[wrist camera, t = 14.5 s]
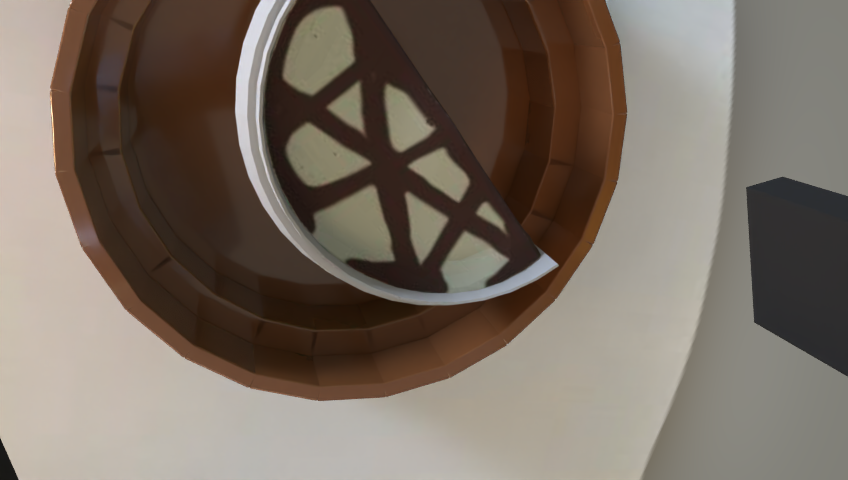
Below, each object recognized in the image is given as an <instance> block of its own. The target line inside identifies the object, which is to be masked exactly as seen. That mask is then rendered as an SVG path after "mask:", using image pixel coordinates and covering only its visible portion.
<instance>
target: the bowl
mask: <svg viewBox="0 0 848 480" xmlns="http://www.w3.org/2000/svg"><path fill="white" fill-rule="evenodd" d="M260 1H261V0H72V1H71V3H70V7H69V8H68V11H67V16H66V20H65V24H64V29H63V33H62V38H61V42H60V46H59V51H58V55H57V60H56V64H55V68H54V73H53V77H52V82H51V86H50V88H51V90H50V102H51V118H52V134H53V150H54V166H55V171H56V173H55V174H56V177H57V180H58V183H59V186H60V188H61V191H62V194H63V197H64V200H65V202H66V205H67V208H68V211H69V214H70V216H71V219H72V222H73V225H74V228H75V230H76V233H77V236H78V239H79V242H80V244H81V247H83V250H84V252H85V253H86V255H87V256H88V257H89V259H90V260H91V262H92V263H93V264H94V266H95V267H96V269H97V270H98V271H99V273H100V274H101V276H102V277H103V279H104V280H105V281H106V283H107V284H108V286H109V287H110V288H111V290H112V291H113V293H114V294H115V295H116V297H117V298H118V300H119V301H120V303H121V304H122V305H123V307H124V308H125V310H127V311H128V312H129V313H130V314H131V315H132V316H133V317H135V318H136V319H137V320H138V321H140V322H141V323H142V324H143V325H144V326H146V327H147V328H148V329H149V330H150V331H152V332H153V333H154V334H155V335H156V336H158V337H159V338H160V339H161V340H163V341H164V342H165V343H166V344H167V345H169V346H170V347H171V348H172V349H173V350H175V351H176V352H177V353H178V354H180V355H181V356H182V357H185V359H187V360H189V361H192V362H194V363H196V364H198V365H200V366H202V367H205V368H207V369H209V370H211V371H213V372H215V373H218V374H220V375H222V376H224V377H226V378H228V379H231V380H233V381H235V382H237V383H239V384H241V385H244V386H246V387H250V388H251V389H257V390H262V391H267V392H273V393H278V394H284V395H289V396H294V397H300V398H305V399H310V400H318V401H327V400H345V399H362V398H380V397H388V396H391V395H394V394H398V393H401V392H404V391H408V390H411V389H415V388H418V387H421V386H425V385H428V384H431V383H435V382H438V381H441V380H445V379H448V378H449V377H452V376H454V375H456V374H458V373H459V372H461V371H463V370H465V369H466V368H468V367H470V366H472V365H473V364H475V363H477V362H479V361H480V360H482V359H484V358H486V357H487V356H489V355H491V354H493V353H494V352H496V351H498V350H499V349H501V348H503V347H505V346H506V345H507V344H509V343H510V342H511V341H512V340H513V339H514V338H515V337H516V336H517V335H518V334H519V333H520V332H522V331H523V330H524V329H525V328H526V327H527V326H528V325H529V324H530V323H531V322H532V321H533V320H534V319H536V318H537V317H538V316H539V315H540V314H541V313H542V312H543V311H544V310H545V309H546V308H547V307H549V306H550V305H551V304H552V303H553V302H554V301H555V299H556V298H557V297H558V296H559V294H560V293H561V291H562V290H563V288H564V287H565V285H566V284H567V282H568V281H569V280H570V278H571V277H572V275H573V274H574V272H575V271H576V269H577V268H578V266H579V265H580V263H581V262H582V260H583V259H584V258H585V256H586V255H587V253H588V252H589V250H590V249H591V247H592V244H593V243H594V241H595V239H596V236H597V234H598V231H599V229H600V226H601V223H602V221H603V218H604V216H605V213H606V210H607V208H608V205H609V203H610V200H611V198H612V195H613V192H614V190H615V187H616V185H617V181H618V176H619V169H620V162H621V154H622V147H623V140H624V133H625V125H626V118H627V105H626V95H625V85H624V76H623V66H622V56H621V46H620V43H619V42H620V41H619V38H618V35H617V32H616V30H615V27H614V24H613V21H612V19H611V16H610V13H609V10H608V8H607V5H606V2H605V0H370V1H371V2H372V4H373V5H374V7H375V8H376V10H377V11H378V13H379V14H380V16H381V17H382V19H383V20H384V21H385V23H386V24H387V26H388V27H389V29H390V30H391V32H392V33H393V35H394V36H395V38H396V39H397V41H398V42H399V44H400V45H401V47H402V48H403V50H404V51H405V53H406V54H407V56H408V57H409V59H410V60H411V62H412V63H413V65H414V66H415V68H416V69H417V71H418V72H419V74H420V75H421V76H422V78H423V79H424V81H425V82H426V84H427V85H428V87H429V88H430V90H431V91H432V92H433V94H434V95H435V97H436V98H437V99H438V101H439V102H440V104H441V105H442V107H443V108H444V109H445V111H446V112H447V114H448V115H449V117H450V118H451V119H452V121H453V123H454V124H455V126H456V127H457V129H458V130H459V132H460V134H461V135H462V137H463V138H464V140H465V141H466V143H467V144H468V146H469V148H470V149H471V151H472V152H473V154H474V155H475V157H476V159H477V160H478V162H479V163H480V165H481V166H482V168H483V169H484V171H485V172H486V174H487V175H488V177H489V178H490V180H491V181H492V183H493V184H494V186H495V187H496V189H497V190H498V192H499V193H500V195H501V196H502V198H503V199H504V201H505V202H506V204H507V205H508V207H509V208H510V210H511V211H512V213H513V215H514V216H515V218H516V219H517V220H518V222H519V223H520V225H521V226H522V227H523V229H524V230H525V231H526V232H527V233H528V234H529V235H530V237H531V239H532V241H533V243H534V244H535V245H536V246H537V247H539V248H540V249H541V250H542V251H543V252H544V253H545V254H547V255H548V256H549V257H550V258H551V259H552V260H554V261H555V262H556V263H557V264H558V265H559V266H558V267H556V268H555V269H553V270H552V271H550V272H549V273H547V274H546V275H544V276H542V277H541V278H539V279H538V280H536V281H534V282H532V283H530V284H528V285H525V286H523V287H521V288H519V289H517V290H515V291H513V292H510V293H507V294H503V295H500V296H497V297H494V298H490V299H487V300H483V301H477V302H470V303H463V304H455V305H416V304H410V303H403V302H397V301H391V300H388V299H385V298H382V297H379V296H376V295H373V294H370V293H367V292H364V291H362V290H360V289H358V288H356V287H354V286H352V285H350V284H349V283H347V282H345V281H343V280H341V279H339V278H337V277H335V276H334V275H332V274H330V273H329V272H327V271H326V270H324V269H323V268H321V267H320V266H319V265H317V264H316V263H315V262H313V261H312V260H311V259H309V258H308V257H306V256H305V255H304V254H302V253H301V252H300V251H299V250H298V249H297V248H296V247H295V245H294V244H293V243H292V242H291V241H290V240H289V239H288V238H287V237H286V236H285V235H284V234H283V233H282V232H281V231H280V230H279V228H278V227H277V225H276V224H275V223H274V221H273V220H272V218H271V217H270V215H269V214H268V213H267V211H266V210H265V208H264V207H263V205H262V203H261V201H260V199H259V197H258V195H257V193H256V191H255V189H254V187H253V185H252V183H251V180H250V178H249V176H248V173H247V169H246V166H245V163H244V159H243V156H242V152H241V149H240V146H239V138H238V130H237V122H236V114H235V102H236V77H237V72H238V67H239V62H240V57H241V51H242V46H243V42H244V39H245V37H246V34H247V31H248V29H249V26H250V23H251V21H252V18H253V15H254V13H255V10H256V8H257V6H258V5H259V3H260Z"/></svg>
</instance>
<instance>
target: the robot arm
mask: <svg viewBox="0 0 848 480" xmlns="http://www.w3.org/2000/svg"><path fill="white" fill-rule="evenodd" d="M746 189H747V208H748V224H749V240H750V258H751V275H752V291H753V308H754V322H755V323H756V324H758V325H760V326H762V327H763V328H765V329H767V330H769V331H770V332H772V333H774V334H775V335H777V336H779V337H780V338H782V339H784V340H786V341H788V342H789V343H791V344H793V345H794V346H796V347H798V348H799V349H801V350H803V351H805V352H806V353H808V354H810V355H812V356H813V357H815V358H817V359H818V360H820V361H822V362H824V363H825V364H827V365H829V366H831V367H832V368H834V369H836V370H838V371H839V372H841V373H843V374H844V375H846V376H848V196H845V195H842V194H839V193H835V192H832V191H829V190H825V189H822V188H818V187H815V186H812V185H808V184H805V183H802V182H798V181H795V180H792V179H788V178H785V177H780V178H777V179H773V180H770V181H766V182H763V183H760V184H756V185H753V186H749V187H747V188H746ZM0 480H19V479H18V477H17V475H16V473H15V470H14V468H13V466H12V464H11V461H10V459H9V457H8V455H7V452H6V450H5V448H4V446H3V443H2V441H1V439H0Z"/></svg>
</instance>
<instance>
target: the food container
mask: <svg viewBox="0 0 848 480" xmlns="http://www.w3.org/2000/svg"><path fill="white" fill-rule="evenodd" d="M235 114H236V122H237V130H238V138H239V146H240V149H241V152H242V156H243V159H244V163H245V166H246V169H247V173H248V176H249V178H250V180H251V183H252V185H253V187H254V189H255V191H256V193H257V195H258V197H259V199H260V201H261V203H262V205H263V207H264V208H265V210H266V211H267V213H268V214H269V215H270V217H271V218H272V220H273V221H274V223H275V224H276V225H277V227H278V228H279V230H280V231H281V232H282V233H283V234H284V235H285V236H286V237H287V238H288V239H289V240H290V241H291V242H292V243H293V244H294V245H295V247H296V248H297V249H298V250H299V251H300V252H301V253H302V254H304V255H305V256H306V257H308V258H309V259H311V260H312V261H313V262H315V263H316V264H317V265H319V266H320V267H321V268H323V269H324V270H326V271H327V272H329V273H330V274H332V275H334V276H335V277H337V278H339V279H341V280H343V281H345V282H347V283H349V284H350V285H352V286H354V287H356V288H358V289H360V290H362V291H364V292H367V293H370V294H373V295H376V296H379V297H382V298H385V299H388V300H391V301H397V302H403V303H410V304H416V305H455V304H463V303H470V302H477V301H483V300H487V299H490V298H494V297H497V296H500V295H503V294H507V293H510V292H513V291H515V290H517V289H519V288H521V287H523V286H525V285H528V284H530V283H532V282H534V281H536V280H538V279H539V278H541V277H542V276H544V275H546V274H547V273H549V272H550V271H552V270H553V269H555V268H556V267H558V266H559V265H558V264H557V263H556V262H555V261H554V260H552V259H551V258H550V257H549V256H548V255H547V254H545V253H544V252H543V251H542V250H541V249H540V248H539V247H537V246H536V245H535V244H534V243H533V241H532V239H531V237H530V235H529V234H528V233H527V232H526V231H525V230H524V229H523V227H522V226H521V225H520V223H519V222H518V220H517V219H516V218H515V216H514V215H513V213H512V211H511V210H510V208H509V207H508V205H507V204H506V202H505V201H504V199H503V198H502V196H501V195H500V193H499V192H498V190H497V189H496V187H495V186H494V184H493V183H492V181H491V180H490V178H489V177H488V175H487V174H486V172H485V171H484V169H483V168H482V166H481V165H480V163H479V162H478V160H477V159H476V157H475V155H474V154H473V152H472V151H471V149H470V148H469V146H468V144H467V143H466V141H465V140H464V138H463V137H462V135H461V134H460V132H459V130H458V129H457V127H456V126H455V124H454V123H453V121H452V119H451V118H450V117H449V115H448V114H447V112H446V111H445V109H444V108H443V107H442V105H441V104H440V102H439V101H438V99H437V98H436V97H435V95H434V94H433V92H432V91H431V90H430V88H429V87H428V85H427V84H426V82H425V81H424V79H423V78H422V76H421V75H420V74H419V72H418V71H417V69H416V68H415V66H414V65H413V63H412V62H411V60H410V59H409V57H408V56H407V54H406V53H405V51H404V50H403V48H402V47H401V45H400V44H399V42H398V41H397V39H396V38H395V36H394V35H393V33H392V32H391V30H390V29H389V27H388V26H387V24H386V23H385V21H384V20H383V19H382V17H381V16H380V14H379V13H378V11H377V10H376V8H375V7H374V5H373V4H372V2H371V1H370V0H261V1H260V3H259V5H258V6H257V8H256V10H255V13H254V15H253V18H252V21H251V23H250V26H249V29H248V31H247V34H246V37H245V39H244V42H243V46H242V51H241V57H240V62H239V67H238V72H237V77H236V102H235Z"/></svg>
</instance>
